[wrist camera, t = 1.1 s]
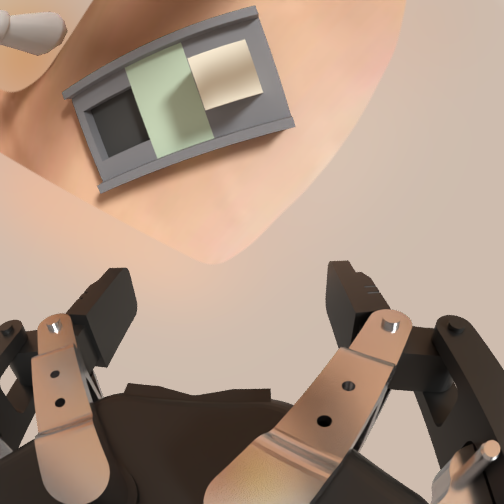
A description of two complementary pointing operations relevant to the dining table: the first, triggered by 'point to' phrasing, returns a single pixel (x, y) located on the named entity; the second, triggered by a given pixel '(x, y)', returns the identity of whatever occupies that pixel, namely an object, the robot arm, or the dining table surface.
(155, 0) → the dining table surface
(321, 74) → the dining table surface
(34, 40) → the salt shaker
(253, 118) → the trap lane
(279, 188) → the dining table surface
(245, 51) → the maple block
